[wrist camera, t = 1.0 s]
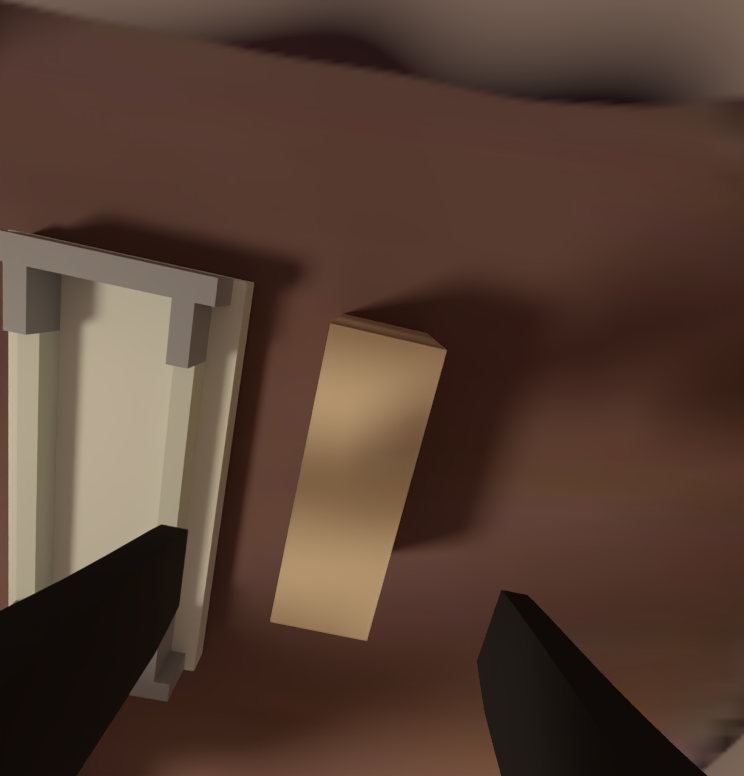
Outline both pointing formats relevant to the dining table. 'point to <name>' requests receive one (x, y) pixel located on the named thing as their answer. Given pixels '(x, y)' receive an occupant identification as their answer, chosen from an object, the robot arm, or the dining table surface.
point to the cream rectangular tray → (119, 418)
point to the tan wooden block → (355, 473)
